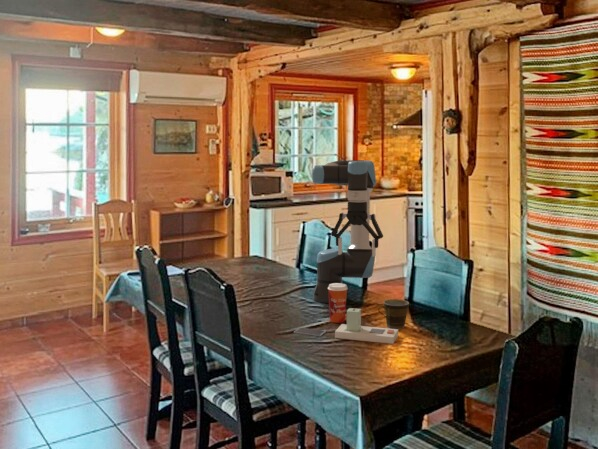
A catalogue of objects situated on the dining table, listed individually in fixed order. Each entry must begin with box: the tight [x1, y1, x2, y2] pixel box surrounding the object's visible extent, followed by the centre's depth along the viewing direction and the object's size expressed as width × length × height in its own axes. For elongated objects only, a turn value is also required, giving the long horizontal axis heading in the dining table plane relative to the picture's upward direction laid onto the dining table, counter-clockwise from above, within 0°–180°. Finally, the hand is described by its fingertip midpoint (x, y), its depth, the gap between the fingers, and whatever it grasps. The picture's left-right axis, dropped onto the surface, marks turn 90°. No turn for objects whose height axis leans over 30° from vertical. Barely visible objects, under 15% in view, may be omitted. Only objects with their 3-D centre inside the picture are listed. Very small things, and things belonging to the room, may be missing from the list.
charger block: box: [346, 307, 362, 332], centre depth 238 cm, size 4×4×10 cm
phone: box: [293, 327, 327, 337], centre depth 243 cm, size 6×11×1 cm, turn 66°
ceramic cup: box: [377, 298, 410, 330], centre depth 248 cm, size 13×10×10 cm
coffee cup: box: [328, 282, 349, 324], centre depth 257 cm, size 8×8×15 cm
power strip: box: [334, 323, 399, 345], centre depth 237 cm, size 10×22×3 cm, turn 71°
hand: (356, 255), depth 247 cm, fingers open, 13 cm apart
